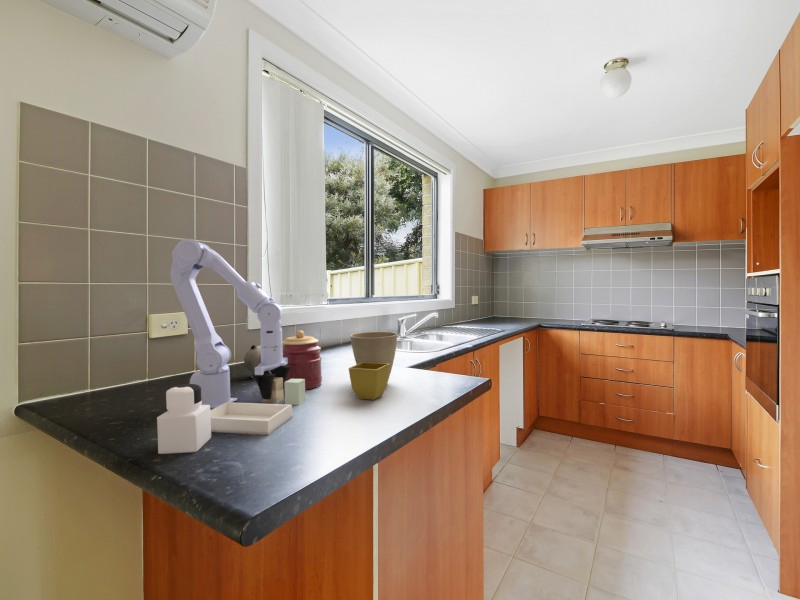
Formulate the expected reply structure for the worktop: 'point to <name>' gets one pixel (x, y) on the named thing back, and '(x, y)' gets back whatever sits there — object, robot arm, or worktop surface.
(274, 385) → the maple block
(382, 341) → the plant pot
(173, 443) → the medicine bottle
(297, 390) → the sage block
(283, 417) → the serving tray
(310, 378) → the canister
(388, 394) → the worktop surface
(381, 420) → the worktop surface
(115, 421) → the worktop surface
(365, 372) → the flower pot
